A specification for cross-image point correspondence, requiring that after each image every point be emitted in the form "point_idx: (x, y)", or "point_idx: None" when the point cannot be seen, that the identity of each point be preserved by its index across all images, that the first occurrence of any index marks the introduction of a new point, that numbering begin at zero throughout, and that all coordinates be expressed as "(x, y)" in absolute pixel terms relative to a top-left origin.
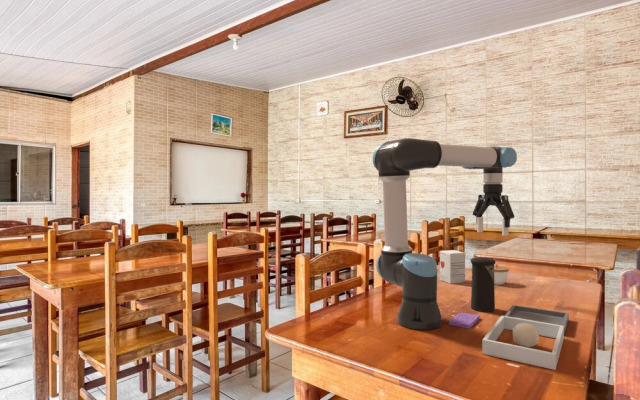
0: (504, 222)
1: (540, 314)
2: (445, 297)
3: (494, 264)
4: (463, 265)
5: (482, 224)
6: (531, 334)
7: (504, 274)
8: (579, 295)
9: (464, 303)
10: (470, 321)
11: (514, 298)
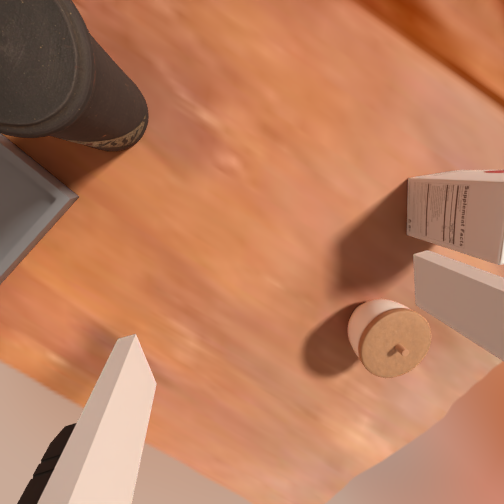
0: (62, 472)
1: (9, 242)
2: (261, 60)
3: None
4: (451, 241)
5: (477, 335)
6: None
7: (354, 344)
8: (209, 445)
9: (180, 87)
10: None
11: (210, 279)
